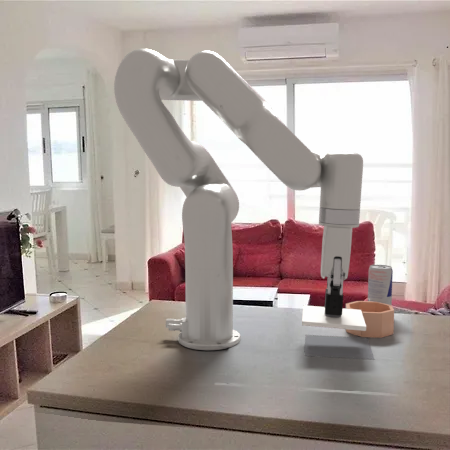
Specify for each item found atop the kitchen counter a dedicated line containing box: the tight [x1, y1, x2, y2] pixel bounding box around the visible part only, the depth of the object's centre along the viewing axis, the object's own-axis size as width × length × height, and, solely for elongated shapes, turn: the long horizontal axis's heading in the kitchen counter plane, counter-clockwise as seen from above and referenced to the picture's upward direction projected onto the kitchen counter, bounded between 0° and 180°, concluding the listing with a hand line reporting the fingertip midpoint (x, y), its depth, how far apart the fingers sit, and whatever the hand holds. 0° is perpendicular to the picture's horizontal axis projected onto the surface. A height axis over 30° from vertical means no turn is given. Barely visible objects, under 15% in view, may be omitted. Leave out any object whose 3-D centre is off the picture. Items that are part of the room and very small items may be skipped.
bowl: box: [345, 300, 395, 339], centre depth 118 cm, size 10×10×6 cm
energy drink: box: [367, 264, 394, 306], centre depth 129 cm, size 5×5×12 cm
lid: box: [301, 288, 366, 331], centre depth 107 cm, size 12×12×6 cm
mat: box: [304, 334, 375, 361], centre depth 108 cm, size 13×13×1 cm
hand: (333, 311), depth 107 cm, fingers closed on lid, 3 cm apart
